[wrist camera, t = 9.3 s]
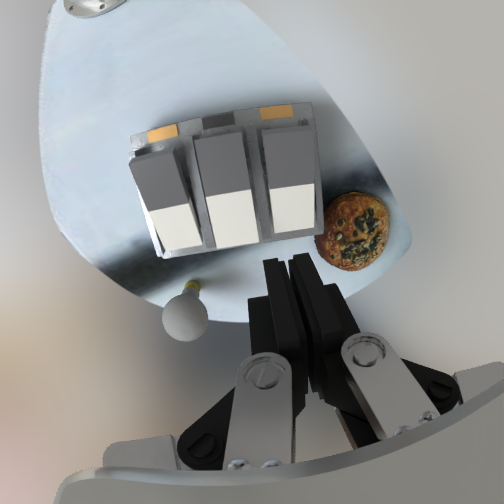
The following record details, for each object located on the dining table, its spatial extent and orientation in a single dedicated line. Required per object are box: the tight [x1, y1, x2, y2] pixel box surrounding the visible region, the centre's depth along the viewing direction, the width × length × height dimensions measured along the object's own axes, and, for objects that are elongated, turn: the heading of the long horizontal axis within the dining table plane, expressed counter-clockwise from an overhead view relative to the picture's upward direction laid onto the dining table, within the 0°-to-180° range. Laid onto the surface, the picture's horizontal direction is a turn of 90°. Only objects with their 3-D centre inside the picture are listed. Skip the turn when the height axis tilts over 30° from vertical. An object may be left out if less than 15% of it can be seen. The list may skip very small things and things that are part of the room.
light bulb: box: [162, 281, 208, 341], centre depth 33 cm, size 6×6×10 cm
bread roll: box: [314, 192, 390, 271], centre depth 33 cm, size 11×11×5 cm
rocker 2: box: [194, 131, 259, 249], centre depth 23 cm, size 10×4×1 cm, turn 9°
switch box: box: [129, 102, 324, 259], centre depth 27 cm, size 14×18×8 cm
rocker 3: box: [261, 125, 314, 233], centre depth 23 cm, size 10×4×1 cm, turn 8°
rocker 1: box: [129, 147, 203, 251], centre depth 24 cm, size 10×4×1 cm, turn 8°
